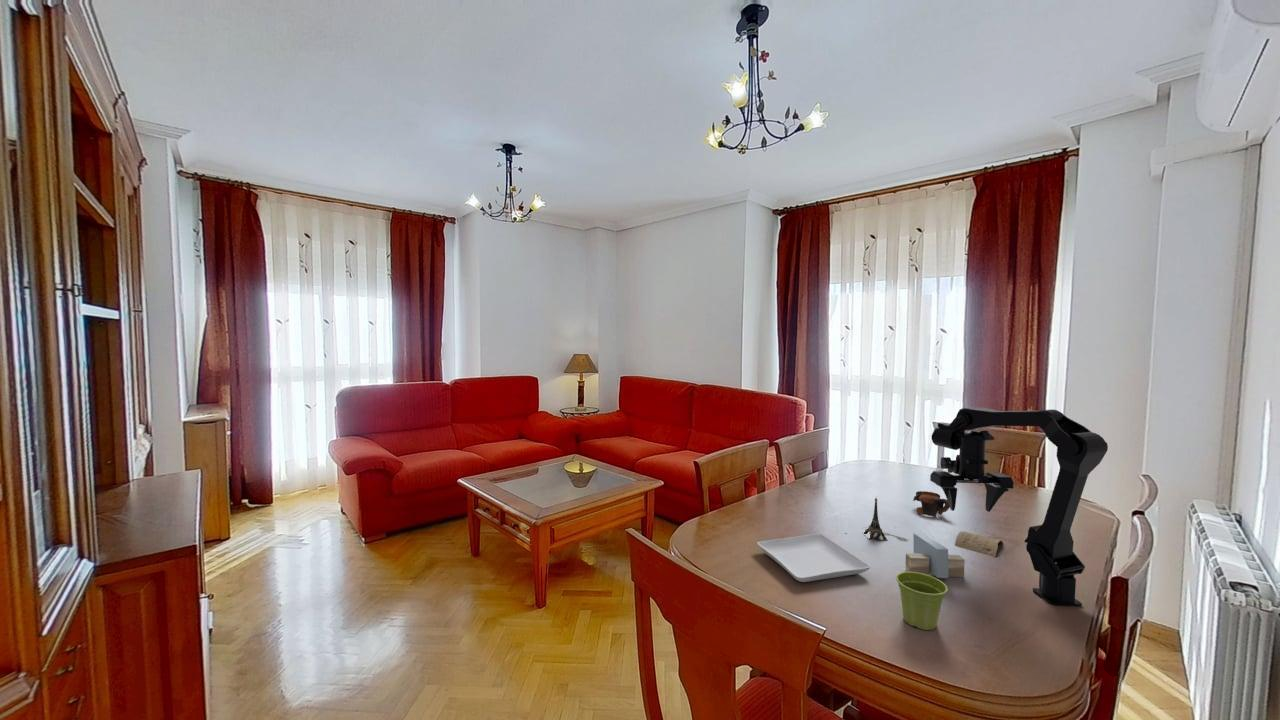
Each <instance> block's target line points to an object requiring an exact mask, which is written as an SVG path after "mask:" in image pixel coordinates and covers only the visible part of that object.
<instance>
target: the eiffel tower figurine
mask: <svg viewBox="0 0 1280 720" xmlns="http://www.w3.org/2000/svg"><path fill="white" fill-rule="evenodd" d="M878 514H879V513H878V498H877V497H875V498H874V508H873V517H872V518H871V520H872V521H871V523H870V525H868V527H867V528H868V529H865V532H864V534H867V533H868V532H869V534H870V538H869V539H868V541H870V540H873V541H875V540H876V541H877V542H881V541H882V542H889V541H888V539H887V537H886V536H891V537H894V538H896V539H897V540H898V541H900V542H908V541H909V539H908V538H905V537H902V536H897V535H894V534H891V533H888V532H885V531H883V529H882V528H881V525H880V520H879V515H878ZM864 534H863V535H864Z"/></svg>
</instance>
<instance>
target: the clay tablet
mask: <svg viewBox="0 0 1280 720" xmlns="http://www.w3.org/2000/svg"><path fill="white" fill-rule="evenodd" d="M999 543H1004V542H1003V540H1001V539H996V538H992V537H987V536H984V535H981V534H980V535H979V534H977V533H970V532H968V531H965V530H964V531H963V530H962V531H959V532H958V534H957V536H956V539H955V542H954V546H955V547H957V548H960V549H964V550H967V551H971V552H975V553H978V554H983V555H986V556H990V557H992V558H995V557H996V556H997V551H998V547H999V545H998V544H999Z"/></svg>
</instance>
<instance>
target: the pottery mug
mask: <svg viewBox="0 0 1280 720" xmlns="http://www.w3.org/2000/svg"><path fill="white" fill-rule="evenodd" d="M912 501H913V502H915V501H917V502H919V503H920V504H921V506H918V507H916V513H917V515H925V516H929V517H933V518H937V514H939V515H942V514H943V513H947V511H949V510H950V506H949V504H948V501H947V498H941V495H940V494H939V493H936V492H933V491H925V490H924V491H921V490H920V491H916V492H915V496H914V497H913V500H912Z"/></svg>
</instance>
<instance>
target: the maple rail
mask: <svg viewBox="0 0 1280 720" xmlns="http://www.w3.org/2000/svg"><path fill="white" fill-rule="evenodd" d="M965 564H966V563H965V558H963V557H962V556H961V555H959V554H948V578H949V577H951V578H953V577H955V578H958V577H959V578H964V577H965ZM904 568H905V572H918V573H923V574H926V575H929V576H932V577H936V576H935V575H933V574H932V573H931V572H929V558H928V557H927V556H926V555H925V554H916V553H914V552H913V553H912V552H910V553H909V552H908V553H907V552H906V553H905V567H904Z"/></svg>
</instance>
